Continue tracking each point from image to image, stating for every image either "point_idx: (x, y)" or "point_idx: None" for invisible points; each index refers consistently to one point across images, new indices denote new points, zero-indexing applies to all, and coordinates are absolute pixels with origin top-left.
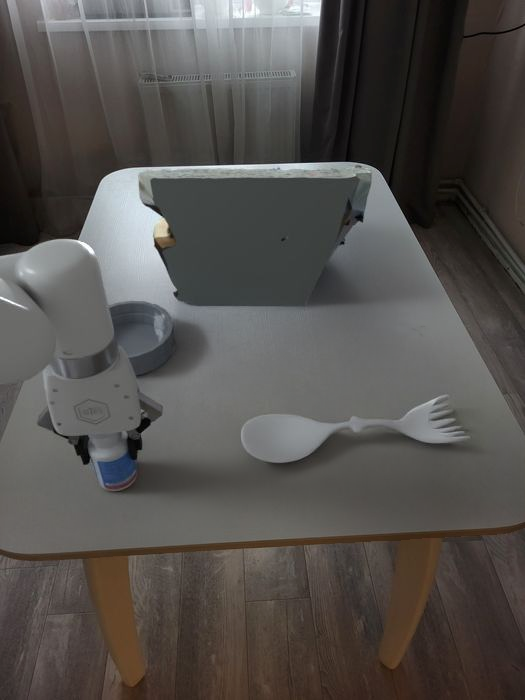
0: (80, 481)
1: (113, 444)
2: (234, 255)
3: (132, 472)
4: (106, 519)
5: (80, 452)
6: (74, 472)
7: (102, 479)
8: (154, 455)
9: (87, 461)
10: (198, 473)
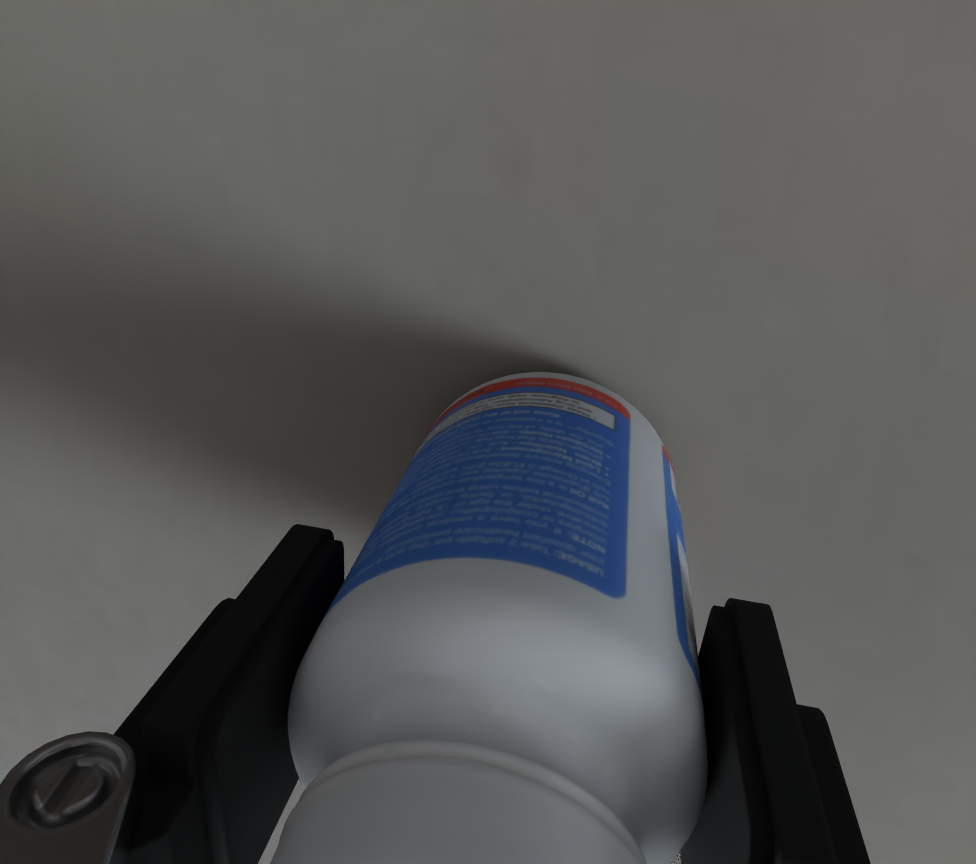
0: (793, 510)
1: (372, 747)
2: None
3: (412, 461)
4: (644, 161)
5: (796, 754)
6: (823, 583)
7: (629, 454)
8: None
9: (727, 626)
10: (76, 380)
